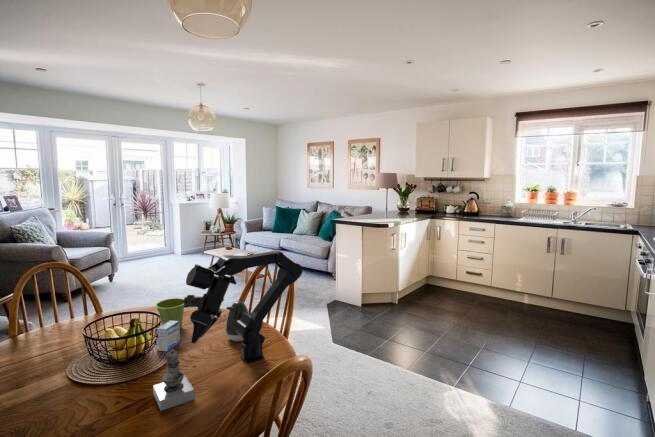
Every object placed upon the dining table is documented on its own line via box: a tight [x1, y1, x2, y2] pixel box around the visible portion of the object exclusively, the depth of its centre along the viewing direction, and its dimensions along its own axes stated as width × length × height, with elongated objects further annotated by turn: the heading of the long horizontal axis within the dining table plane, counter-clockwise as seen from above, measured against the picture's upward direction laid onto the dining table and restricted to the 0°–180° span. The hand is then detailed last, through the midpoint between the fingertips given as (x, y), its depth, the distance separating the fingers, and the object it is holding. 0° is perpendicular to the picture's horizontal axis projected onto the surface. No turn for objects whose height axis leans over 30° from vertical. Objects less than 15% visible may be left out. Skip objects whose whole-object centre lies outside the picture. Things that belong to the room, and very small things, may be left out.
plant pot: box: [155, 297, 185, 330], centre depth 151 cm, size 12×12×11 cm
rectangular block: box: [152, 375, 195, 412], centre depth 104 cm, size 9×9×3 cm
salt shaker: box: [161, 347, 185, 393], centre depth 104 cm, size 6×6×12 cm
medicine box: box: [156, 321, 181, 352], centre depth 135 cm, size 8×4×9 cm, turn 168°
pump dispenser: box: [224, 300, 250, 342], centre depth 142 cm, size 10×10×15 cm
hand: (196, 339), depth 115 cm, fingers open, 9 cm apart
